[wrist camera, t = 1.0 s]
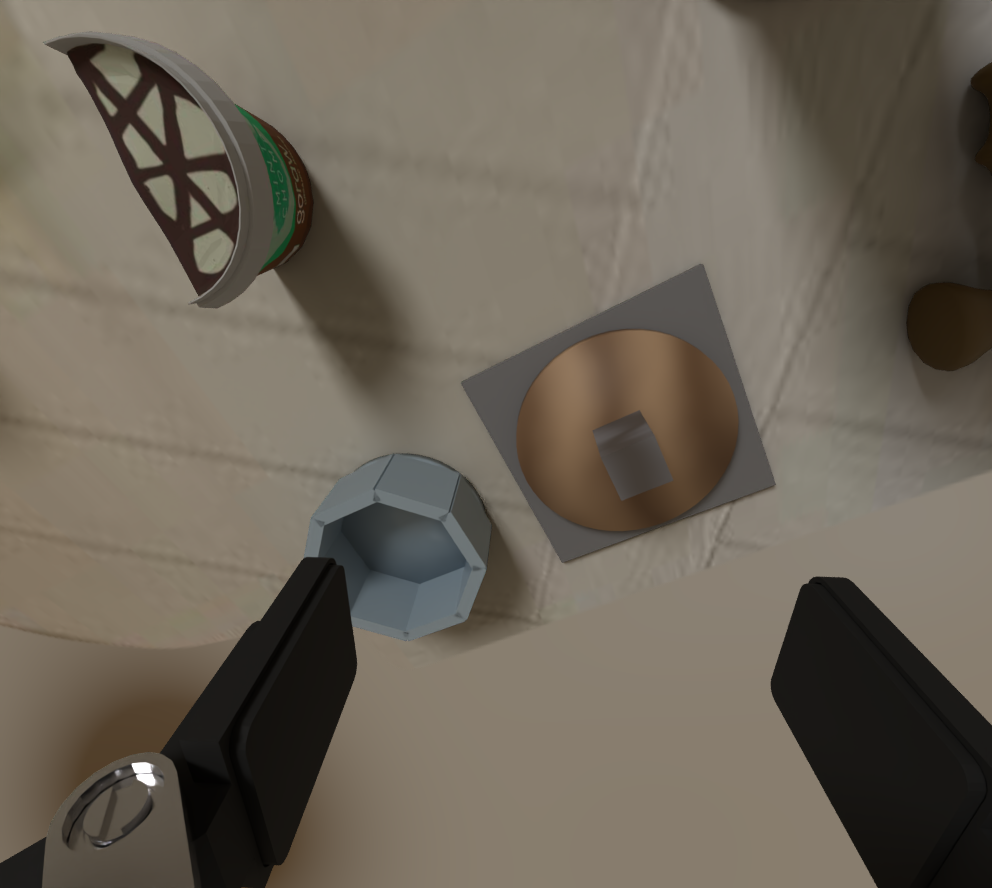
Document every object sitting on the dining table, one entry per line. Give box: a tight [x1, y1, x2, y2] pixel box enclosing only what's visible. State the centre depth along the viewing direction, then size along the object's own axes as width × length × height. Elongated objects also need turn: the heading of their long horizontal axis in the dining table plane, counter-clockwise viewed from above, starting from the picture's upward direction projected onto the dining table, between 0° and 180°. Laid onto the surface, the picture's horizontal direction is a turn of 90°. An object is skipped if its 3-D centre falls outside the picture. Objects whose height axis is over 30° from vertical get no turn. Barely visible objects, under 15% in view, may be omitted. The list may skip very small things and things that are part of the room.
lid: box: [516, 329, 739, 531], centre depth 34 cm, size 16×16×6 cm
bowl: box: [304, 453, 492, 641], centre depth 38 cm, size 13×13×6 cm
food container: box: [43, 32, 314, 308], centre depth 26 cm, size 12×6×10 cm, turn 17°
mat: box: [461, 264, 776, 563], centre depth 37 cm, size 18×18×1 cm
